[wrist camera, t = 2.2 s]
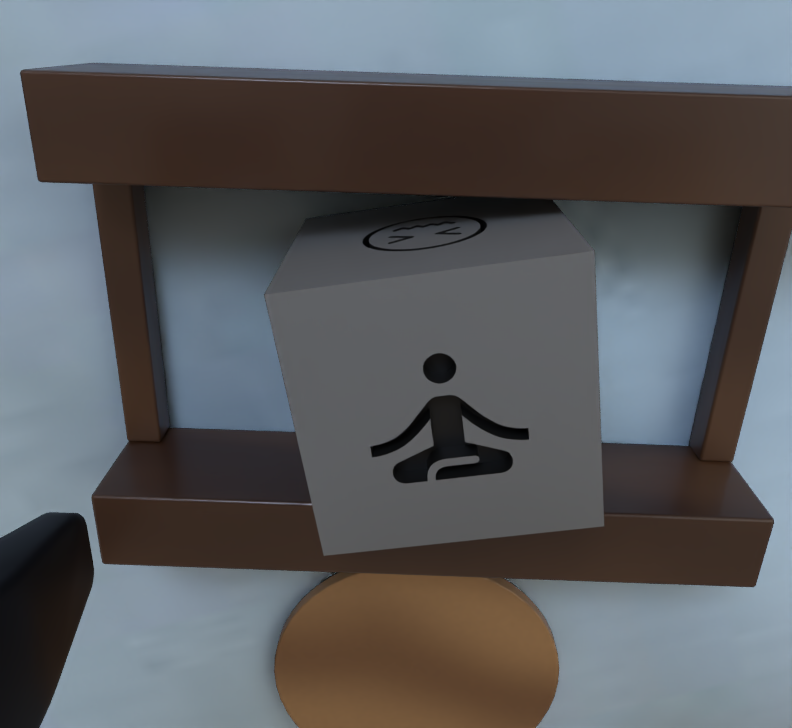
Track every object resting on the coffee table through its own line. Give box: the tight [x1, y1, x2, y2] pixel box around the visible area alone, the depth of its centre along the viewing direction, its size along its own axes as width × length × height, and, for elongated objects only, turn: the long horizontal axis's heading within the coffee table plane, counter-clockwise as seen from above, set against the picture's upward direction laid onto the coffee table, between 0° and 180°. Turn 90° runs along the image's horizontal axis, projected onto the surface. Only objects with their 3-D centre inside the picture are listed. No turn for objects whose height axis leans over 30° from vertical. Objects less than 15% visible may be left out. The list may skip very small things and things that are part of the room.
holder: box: [20, 63, 792, 587], centre depth 15 cm, size 10×14×3 cm
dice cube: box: [264, 197, 604, 556], centre depth 14 cm, size 5×5×5 cm
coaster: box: [274, 572, 559, 728], centre depth 21 cm, size 8×8×1 cm
